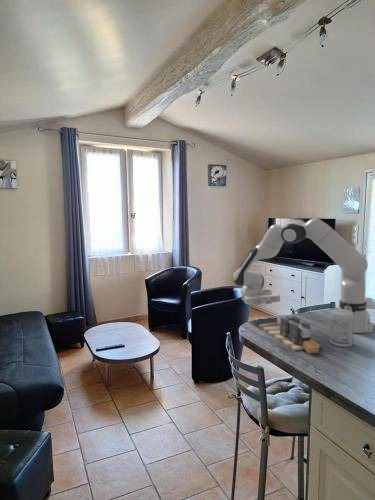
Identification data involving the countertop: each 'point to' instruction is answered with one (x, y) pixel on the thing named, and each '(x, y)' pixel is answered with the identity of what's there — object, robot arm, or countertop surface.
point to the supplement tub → (341, 327)
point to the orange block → (310, 347)
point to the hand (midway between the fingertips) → (268, 302)
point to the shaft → (302, 330)
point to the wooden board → (287, 332)
